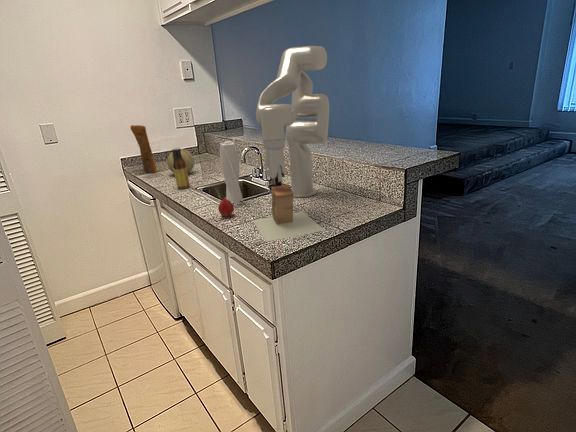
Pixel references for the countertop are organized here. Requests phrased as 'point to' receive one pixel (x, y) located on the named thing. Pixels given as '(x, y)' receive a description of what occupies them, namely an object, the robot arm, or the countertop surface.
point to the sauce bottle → (180, 170)
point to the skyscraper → (230, 170)
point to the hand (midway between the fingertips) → (277, 194)
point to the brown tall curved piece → (144, 148)
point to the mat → (287, 227)
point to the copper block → (282, 204)
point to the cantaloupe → (187, 158)
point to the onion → (226, 207)
